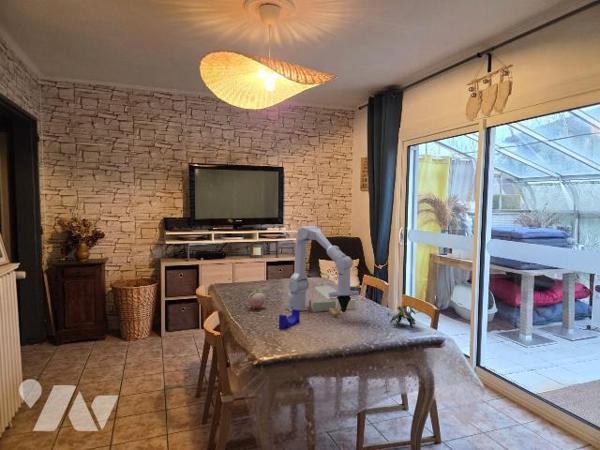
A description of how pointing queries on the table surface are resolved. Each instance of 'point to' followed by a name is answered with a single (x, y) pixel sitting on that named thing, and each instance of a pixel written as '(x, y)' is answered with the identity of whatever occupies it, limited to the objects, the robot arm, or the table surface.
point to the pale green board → (350, 305)
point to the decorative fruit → (256, 299)
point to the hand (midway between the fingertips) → (343, 311)
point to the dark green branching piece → (403, 314)
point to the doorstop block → (335, 312)
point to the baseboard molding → (325, 291)
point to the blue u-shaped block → (289, 319)
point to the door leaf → (323, 306)
